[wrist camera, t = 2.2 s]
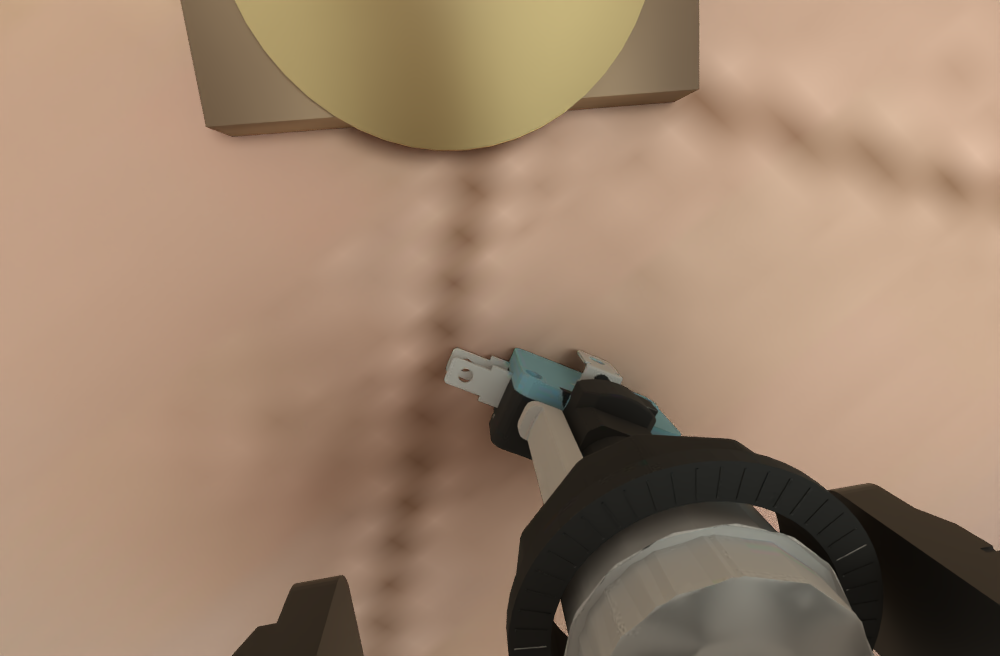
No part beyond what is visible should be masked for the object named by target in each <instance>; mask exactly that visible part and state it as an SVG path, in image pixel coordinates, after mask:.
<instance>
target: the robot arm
mask: <svg viewBox="0 0 1000 656" xmlns="http://www.w3.org/2000/svg"><path fill="white" fill-rule="evenodd" d="M827 491H829V492H830V493H831V494H832V495H834V496H835V497H836V498H837V499H838V500H839V501H841V502H842V503H843V504H844V505H845V506H846V507H847V508H848V509H849V510H850V511H851V513H852V514H853V515H854V516H855V517H856V518H857V519H858V521H859V522H860V524H861V525H862V527H863V528H864V530H865V531H866V533H867V535H868V537H869V539H870V541H871V543H872V545H873V547H874V549H875V552H876V555H877V558H878V561H879V564H880V569H881V574H882V580H883V595H884V599H883V614H882V619H881V625H880V630H879V633H878V637H877V640H876V643H875V646H874V650H875V651H876V652H877V653H878V654H879V655H880V656H1000V551H995V550H994V549H993V546H992V545H990V544H989V543H987V542H985V541H984V540H982V539H980V538H979V537H977V536H975V535H974V534H972V533H970V532H969V531H967V530H965V529H964V528H962V527H960V526H959V525H957V524H955V523H952V522H950V521H947V520H944V519H942V518H939V517H937V516H934V515H931V514H929V513H926V512H923V511H921V510H918V509H916V508H914V507H912V506H910V505H909V504H907V503H906V502H904V501H902V500H901V499H899V498H897V497H896V496H894V495H893V494H891V493H889V492H888V491H886V490H884V489H883V488H881V487H879V486H877V485H875V484H871V483H866V484H860V485H855V486H849V487H844V488H838V489H832V490H827ZM232 656H364V655H363V649H362V645H361V640H360V636H359V631H358V626H357V622H356V617H355V612H354V608H353V603H352V598H351V594H350V589H349V585H348V582H347V579H346V578H345V576H343V575H341V576H335V577H329V578H324V579H318V580H312V581H307V582H301V583H296V584H294V585H293V586H292V588H291V589H290V592H289V594H288V597H287V599H286V601H285V604H284V606H283V609H282V611H281V614H280V616H279V619H278V621H277V623H275V624H269V625H264V626H259V627H257V628H256V629H255V630H254V632H253V633H252V634H251V635H250V636H249V637H248V638H247V639H246V640H245V642H244V643H243V644H242V645H241V646H240V647H239V648H238V649H237V651H236V652H235V653H234V654H233V655H232Z"/></svg>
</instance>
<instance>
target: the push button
mask: <svg viewBox="0 0 1000 656" xmlns="http://www.w3.org/2000/svg"><path fill="white" fill-rule="evenodd" d="M577 354H578V355H579V357H580V358H581V360H582V361H583V362H584V363H585V364H586V366H585V369H584V371H583V373H581V372H578V371H576V370H573V369H571V368H568V367H566V366H563V365H561V364H558V363H556V362H553V361H550V360H548V359H545V358H543V357H540V356H538V355H535V354H533V353H530V352H528V351H525V350H522V349H519V348H515V349H514V352H513V354H512V356H511V358H510V361H509V362H508V361H505V360H502V359H500V358H497V357H495V356H491V358H490V360H489V359H486V358H483V357H481V356H478V355H476V354H473V353H471V352H468V351H465V350H463V349H460V348H458V347H457V348H455V349H453V352H452V354H451V356H450V359H449V361H448V364H447V366H446V371H447V373H446V376H445V378H444V380H445V382H446V383H447V384H449V385H452V386H455V387H457V388H460V389H463V390H465V391H468V392H471V393H473V394H476V395H479V398H478V401H480V402H483V403H485V404H488V405H491V406H493V407H494V413H493V415H492V417H491V420H490V422H489V425H490V435H491V441H492V442H493V444H495V445H496V446H497V447H499V448H501V449H504V450H506V451H509V452H512V453H515V454H517V455H520V456H523V457H526V458H528V459H531V460H533V464H534V468H535V472H536V476H537V480H538V484H539V488H540V492H541V496H542V500H543V504H544V505H543V506H542V508H541V509H540V510H539V511H538V513H537V514H536V515H535V517H534V518H533V519H532V520H531V522H530V523H529V524H528V526H527V527H526V528H525V529H524V531H523V532H522V535H521V537H520V545H519V554H518V563H517V572H516V576H515V579H514V582H513V586H512V589H511V592H510V597H509V603H508V608H507V624H506V629H507V641H508V653H509V656H874V654H873V652H872V651H873V649H874V646H875V643H876V640H877V637H878V633H879V630H880V625H881V619H882V614H883V599H884V595H883V580H882V574H881V569H880V564H879V561H878V558H877V555H876V552H875V549H874V547H873V545H872V543H871V541H870V539H869V537H868V535H867V533H866V531H865V530H864V528H863V527H862V525H861V524H860V522H859V521H858V519H857V518H856V517H855V516H854V515H853V514H852V513H851V511H850V510H849V509H848V508H847V507H846V506H845V505H844V504H843V503H842V502H841V501H839V500H838V499H837V498H836V497H835V496H834V495H832V494H831V493H830V492H829V491H827V490H826V489H825V488H824V487H822V486H821V485H820V484H819V483H818V482H816V481H815V480H813V479H812V478H810V477H809V476H807V475H806V474H804V473H803V472H801V471H800V470H798V469H796V468H794V467H792V466H790V465H788V464H786V463H783V462H781V461H778V460H775V459H772V458H770V457H767V456H763V455H759V454H755V453H754V452H752V451H751V450H749V449H748V448H746V447H745V446H744V445H742V444H741V443H739V442H737V441H735V440H732V439H723V438H705V437H687V436H681V433H680V432H679V431H678V430H677V428H676V427H675V426H674V425H673V424H672V423H671V422H670V421H669V420H668V419H667V418H666V416H665V415H664V414H663V413H662V412H661V411H660V410H659V409H658V406H657V405H656V404H655V403H654V402H653V401H651V400H650V399H648V398H646V397H644V396H642V395H639V394H637V393H634V392H632V391H630V390H629V389H628V388H626V387H624V386H622V385H620V384H621V382H622V379H623V378H622V377H621V376H619V373H618V372H617V371H616V370H615V369H614V367H613V366H612V365H611V364H610V363H608V362H607V361H605V360H603V359H600V358H598V357H595V356H593V355H590V354H588V353H585V352H583V351H577ZM464 359H469V360H471V362H469V361H467V360H464ZM593 360H594V361H593ZM595 361H596V362H595ZM597 362H598V363H597ZM599 363H600V364H599ZM462 369H469V371H462ZM459 377H461V378H463V379H466V380H469V381H468V382H462V381H461V380H460V379H459ZM752 505H754V506H758V507H763V508H765V509H768V510H771V511H774V512H775V513H776V516H777V520H778V524H779V529H780V533H779V532H777V531H776V530H775V529H774V528H773V527H772V526H771V525H770V524H769V523H768V522H767V521H766V520H765V519H764V518H763V516H762V515H761V514H760V513H759V512H758V511H757V510H756V509H755V508H754V507H753V506H752ZM560 599H561V604H562V608H563V612H564V617H565V621H566V626H567V630H568V634H569V636H568V637H567V636H566V635H565V634H564V633H563V632H562V631H561V630H560V629H559V628H558V626H557V625H556V624H555V622H554V621H553V620H554V615H555V613H556V610H557V607H558V604H559V601H560Z"/></svg>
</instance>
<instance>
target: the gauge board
mask: <svg viewBox="0 0 1000 656" xmlns="http://www.w3.org/2000/svg"><path fill="white" fill-rule="evenodd" d="M181 5H182V10H183V15H184V20H185V25H186V30H187V35H188V40H189V45H190V50H191V55H192V60H193V65H194V70H195V75H196V80H197V85H198V89H199V94H200V99H201V104H202V109H203V114H204V119H205V124H206V127H208V128H211V129H213V130H216V131H219V132H222V133H224V134H227V135H230V136H245V135H258V134H271V133H283V132H296V131H309V130H322V129H334V128H347V127H355V128H356V129H358V130H360V131H363V132H365V133H368V134H370V135H373V136H375V137H378V138H380V139H383V140H385V141H389V142H393V143H396V144H400V145H404V146H408V147H412V148H420V149H428V150H436V151H459V150H471V149H478V148H484V147H491V146H494V145H498V144H501V143H504V142H508V141H511V140H514V139H517V138H520V137H522V136H524V135H526V134H528V133H530V132H533V131H535V130H537V129H539V128H541V127H543V126H544V125H546V124H548V123H549V122H551V121H552V120H554V119H555V118H557V117H559V116H560V115H562V114H563V113H564V112H566V111H567V110H577V109H590V108H602V107H615V106H628V105H641V104H654V103H666V102H675V101H677V100H679V99H681V98H683V97H685V96H687V95H689V94H690V93H692V92H694V91H696V90H698V89H699V0H181Z"/></svg>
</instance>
